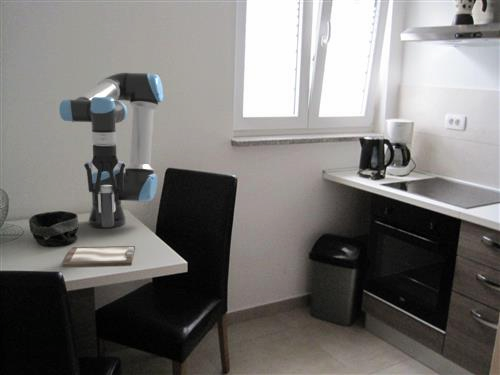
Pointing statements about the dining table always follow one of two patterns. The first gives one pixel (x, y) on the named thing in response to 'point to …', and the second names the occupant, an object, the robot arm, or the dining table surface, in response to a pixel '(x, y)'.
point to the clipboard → (100, 256)
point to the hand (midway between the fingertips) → (107, 211)
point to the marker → (106, 205)
